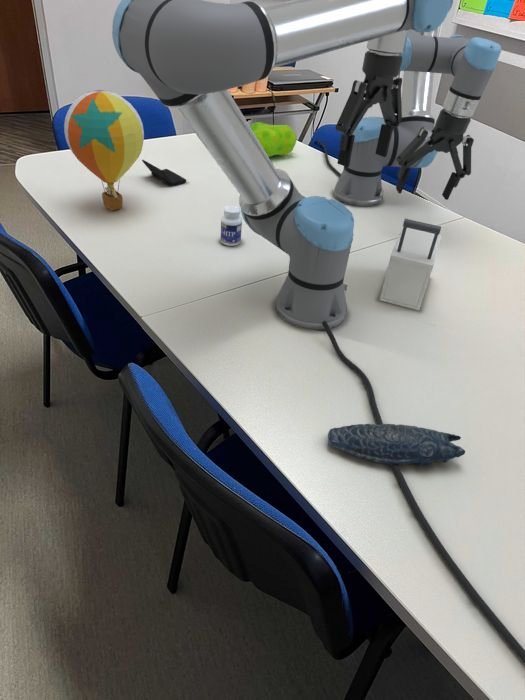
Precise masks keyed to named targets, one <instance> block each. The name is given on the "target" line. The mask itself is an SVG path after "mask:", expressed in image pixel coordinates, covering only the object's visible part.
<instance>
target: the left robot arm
mask: <svg viewBox="0 0 525 700" xmlns="http://www.w3.org/2000/svg"><path fill="white" fill-rule="evenodd" d="M449 8H450V0H287V1H283V2H279V3H274V4H270V5H265V6H262V5H260V4H259V3H258V2H256V1H255V0H247V1H242V2H237V3H225V2H224V3H222V2H221V3H220V2H213V1H208V0H121V1H119V3H118V5H117V6H116V9H115V12H114V14H113V18H112V27H111V28H112V30H111V35H112V42H113V46H114V49H115V51H116V54H117V55H118V57H119V58H120V59H121V61H122V62H123V63H124V65H126V67H127V68H129V69H130V70H131V71H133V72H135V73H137V74H139V76H141V77H142V78H143V80H144V81H145V83H146V84H147V85H148V87H149V88H150V89H151V91H152V92H153V93H154V94H155V96H156V97H157V99H158V100H159V101H160V102H161V104H162V105H163V106H165V107H166V108H173V109H174V108H175V109H177V110H178V111H179V113H180V114H181V115H182V117H183V118H184V119H185V121H186V122H187V123H188V125H189V126H190V128H191V129H192V131H193V132H194V133H195V135H196V136H197V138H198V139H199V140H200V141H201V143H202V145H203V146H204V147H205V149H206V150H207V152H208V153H209V154H210V156H211V157H212V158H213V159H214V161H215V163H216V164H217V165H218V166H219V168H220V169H221V170H222V172H223V173H224V175H225V176H226V177H227V179H228V180H229V181H230V183H231V184H232V186H233V187H234V189H235V191H236V192H237V193H238V194H239V196H238V205H239V208H240V214H241V216H242V220H243V221H244V222H245V224H246V225H247V226H248V227H249V228H250V230H251V231H253V232H254V233H255V234H257V235H258V236H261V237H262V238H264V240H266V241H268V242H269V243H271V244H272V245H274V246H275V247H277V248H278V249H279V250H281V251H282V252H283V253H285V254H286V255H288V256H289V262H288V263H289V264H288V270H287V271H288V272H287V275H286V278H285V279H284V282H283V283H282V285H281V287H280V290H279V291H278V294H277V296H276V300H275V311H276V313H277V315H278V316H279V317H280V318H281V319H282V320H283V321H284V322H286V323H287V324H289V325H291V326H293V327H296V328H300V329H304V330H310V331H324V330H325V333H326V334H327V336H328V338H329V340H330V342H331V345H332V347H333V350H334V351H335V353H336V355H337V356H338V357H339V359H340V360H341V361H342V362H343V363H345V365H346V366H347V367H349V368H350V369H351V370H352V371H353V372H355V373H356V374H357V375H358V376H359V378H360V379H361V381H362V382H363V384H364V385H365V388H366V391H367V395H368V399H369V404H370V408H371V410H372V414H373V417H374V420H375V423H376V424H384V422H383V420H382V416H381V414H380V411H379V408H378V405H377V400H376V397H375V396H376V395H375V393H374V389H373V386H372V384H371V382H370V380H369V378H368V377H367V375H366V374H365V373H364V371H363V370H362V369H361V368H360V367H358V366H357V365H356V364H355V363H353V362H352V361H351V360H350V359H349V358H348V357H347V356H346V355H345V354H344V353H343V351H342V350H341V348H340V347H339V344H338V342H337V339H336V337H335V335H334V333H333V331H332V329H333V328H336V327H337V326H339V325H340V324H342V323H343V322H344V320H345V318H346V315H347V310H348V305H347V297H346V291H347V290H348V284H346V283H344V280H345V275H346V272H347V267H348V262H349V257H350V253H351V249H352V244H353V240H354V235H355V234H354V231H355V229H354V228H355V217H354V216H353V213H352V212H351V211H350V209H349V208H348V207H347V206H346V205H344V204H343V203H342V202H341V201H339V200H336V199H333V198H330V199H329V198H327V197H326V196H319V195H311V196H307V197H306V196H304V195H302V194H301V193H300V192H299V190H298V189H297V188H296V186H295V184H294V182H293V181H292V178H291V177H290V176H289V174H288V173H287V171H285V170H283V169H280V168H276V167H275V166H274V164H273V162H272V160H271V159H270V157H268V156H267V154H266V152H265V151H264V149H263V147H262V146H261V144H260V142H259V141H258V139H257V138H256V136H255V134H254V133H253V131H252V129H251V128H250V126H251V125H250V124H249V123H248V121H247V119H246V118H245V116H244V114H243V113H242V111H241V109H240V108H239V106H238V104H237V103H236V101H235V99H234V98H233V97H232V94H231V93H230V91H229V90H230V89H234V88H238V87H242V86H246V85H249V84H253V83H255V82H259V81H262V80H265V79H267V78H268V77H269V76H270V75H271V73H272V72H273V70H274V69H275V68H278V67H281V66H286V65H289V64H292V63H296V62H299V61H302V60H306V59H309V58H312V57H316V56H320V55H323V54H327V53H330V52H333V51H338V50H341V49H343V48H348V47H351V46H354V45H358V44H361V43H364V42H366V49H368V50H367V51H365V52H364V57H363V63H362V67H361V70H362V72H363V73H364V79H363V81H361V80H357V79H355V80H354V81H353V82H352V86H351V90H350V94H349V95H348V98H347V100H346V102H345V105H344V107H343V109H342V111H341V114H340V116H339V118H338V120H337V122H336V125H335V128H334V130H335V131H337V132H338V133H340V134H341V136H340V141H339V152H338V158H337V165H340V166H343V167H344V166H345V167H349V165H350V159H351V154H352V149H353V143H354V138H355V135H352V134H353V132H354V131H355V129H356V127H357V126H358V124H359V123H360V121H361V120H362V118H364V116H365V115H366V113H367V112H368V110H369V109H371V108H372V107H373V106H374V105H377V104H378V105H379V109H380V111H381V115H382V118H383V119H384V122H385V123H386V125H385V124H382V125H381V130H380V134H379V139H378V144H377V148H376V153H375V154H377V155H380V156H383V157H387V153H388V148H389V144H390V140H391V136H392V132H393V128H394V126H395V127H398V126H399V122H401V120H402V104H401V100H402V87H403V77H399V75H400V72H401V71H400V68H401V64H402V59H403V58H402V56H401V53H403V52H404V51H405V46H406V42H407V37H408V32H409V30H415V31H416V32H432V31H434V30H436V29H437V28H438V29H439V27H440V26H441V25H442V24H443V23H444V21H445V20H446V18H447V15H448V13H449V12H450V11H449ZM448 11H449V12H448ZM390 465H391V467H392V470H393V472H394V474H395V477H396V479H397V482H398V483H399V486H400V488H401V490H402V492H403V494H404V496H405V498H406V500H407V502H408V504H409V506H410V508H411V510H412V511H413V513H414V515H415V516H416V518H417V520H418V522H419V524H420V525H421V527H422V528H423V530H424V532H425V533H426V535H427V537H428V539H429V540H430V541H431V543H432V544H433V546H434V548H435V550H436V551H437V553H438V554H439V555H440V557H441V558H442V559H443V561H444V563H445V564H446V565H447V566H448V568H449V569H450V571H451V573H453V575H454V576H455V578H456V579H457V580H458V582H459V584H460V585H461V586H462V587H463V589H464V590H465V591H466V593H467V594H468V595H469V596H470V598H471V599H472V600H473V602H474V603H475V604H476V605H477V607H478V608H479V609H480V611H481V612H482V613H483V614H484V616H485V617H486V618H487V620H488V621H489V622H490V623H491V624H492V626H493V627H494V628H495V629H496V630H497V631H498V633H499V634H500V635H501V636H502V638H503V639H504V640H505V642H506V643H507V644H508V645H509V646H510V647H511V649H512V650H513V651H514V653H516V655H517V656H518V657H519V658H520V660H521V661H522V662H523V663H524V664H525V649H524V647H523V646H522V645H521V644H520V643H519V641H518V640H517V639H516V638H515V637H514V635H513V634H512V633H511V631H509V629H508V628H507V627H506V626H505V624H503V622H502V621H501V620H500V618H499V617H498V616H497V615H496V614H495V612H494V611H493V610H492V609H491V608H490V607H489V605H488V604H487V603H486V601H485V600H484V599H483V597H481V595H480V594H479V593H478V591H477V590H476V589H475V587H474V586H473V585H472V584H471V582H470V581H469V580H468V579H467V577H466V576H465V574H464V573H463V572H462V570H461V569H460V568H459V566H458V565H457V564H456V562H455V561H454V559H453V557H452V556H451V555H450V554H449V552H448V550H446V548H445V547H444V545H443V544H442V542H441V540H440V539H439V537H438V536H437V534H436V533H435V531H434V530H433V528H432V526H431V525H430V523H429V521H428V520H427V517H425V515H424V513H423V512H422V510H421V508H420V506H419V505H418V503H417V500H416V499H415V497H414V495H413V493H412V491H411V488H410V487H409V485H408V483H407V481H406V479H405V476H404V474H403V472H402V470H401V468H400V465H396V464H390Z"/></svg>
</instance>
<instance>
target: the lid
mask: <svg viewBox="0 0 525 700" xmlns="http://www.w3.org/2000/svg"><path fill="white" fill-rule="evenodd" d="M441 231H442V226H441V225H436V224H432V223H426V222H422V221H418V220H414V219H409V218H404V220H403V223H402V227H401V230H400V232H399V235H398V238H397V239H396V241H395V244H394V245H393V246H394V247H393V249H392V251H391V253H390V257H389V260H390V259H392V260H396V261H400V262H404V263H409V264H413V265H417V266H421V267H425V268H429V269H432V270H433V269H434V266H435V263H436V258H437V254H438V250H439V247H440V243H441V241H442V240H441V239H442V234H440V233H441Z"/></svg>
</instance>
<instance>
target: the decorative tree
mask: <svg viewBox="0 0 525 700" xmlns="http://www.w3.org/2000/svg"><path fill="white" fill-rule="evenodd" d="M249 126H250V128H251V129H252V131H253V133H254V134H255V136H256V138H257V139H258V141H259V142H260V144H261V146H262V147H263V149H264V151H265V152H266V154H267V156H268V157H269V158H272V157H274V156H287V155H288V154H290V153H292V152H293V150H294V149H295V146H296V144H297V135H296V134H297V133H296V132H295V131H294V130H293V129H292V128H291V127H290V126H289V125H288V124H268V123H265V122H261V121H256V122H255V123H252V124H251V125H249Z"/></svg>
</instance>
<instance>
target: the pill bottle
mask: <svg viewBox="0 0 525 700" xmlns="http://www.w3.org/2000/svg"><path fill="white" fill-rule="evenodd" d="M242 227H243V218H242V217H241V208H240V207H238V206H235V205H227V206H225V207H224V209H223V215H222V216H221V219H220V242H221V243H222V244H223V245H226V246H229V247H231V246H232V247H234V246H238V245H239V244H240V243H241V241H242Z"/></svg>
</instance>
